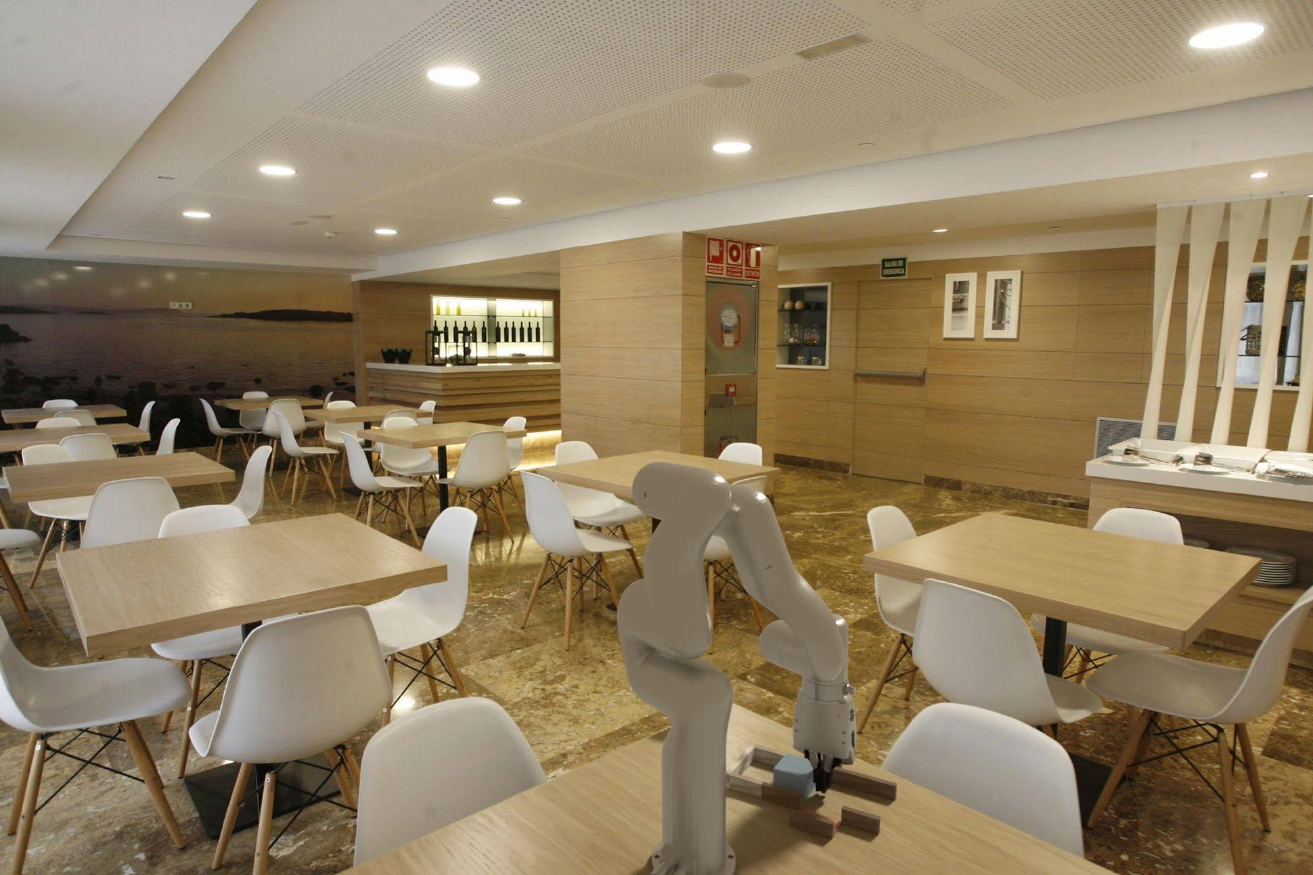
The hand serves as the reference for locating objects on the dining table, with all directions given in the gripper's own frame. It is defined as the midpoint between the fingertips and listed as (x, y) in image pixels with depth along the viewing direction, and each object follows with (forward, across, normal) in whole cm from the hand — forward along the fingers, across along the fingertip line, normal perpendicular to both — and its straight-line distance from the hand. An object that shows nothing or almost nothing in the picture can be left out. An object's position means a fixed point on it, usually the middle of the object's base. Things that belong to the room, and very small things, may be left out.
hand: (822, 788), depth 131 cm
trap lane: (+1, +2, 0) cm, 3 cm away
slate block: (+2, +5, 0) cm, 5 cm away
